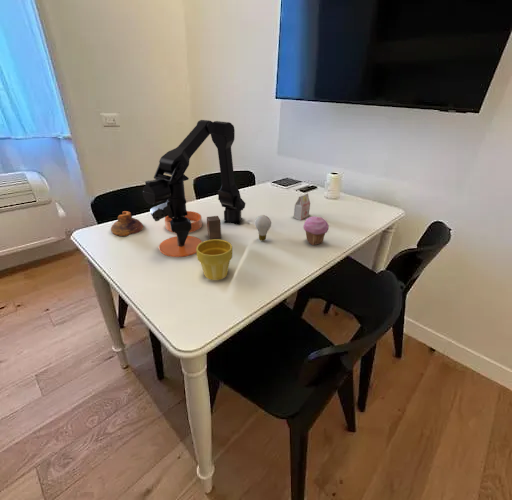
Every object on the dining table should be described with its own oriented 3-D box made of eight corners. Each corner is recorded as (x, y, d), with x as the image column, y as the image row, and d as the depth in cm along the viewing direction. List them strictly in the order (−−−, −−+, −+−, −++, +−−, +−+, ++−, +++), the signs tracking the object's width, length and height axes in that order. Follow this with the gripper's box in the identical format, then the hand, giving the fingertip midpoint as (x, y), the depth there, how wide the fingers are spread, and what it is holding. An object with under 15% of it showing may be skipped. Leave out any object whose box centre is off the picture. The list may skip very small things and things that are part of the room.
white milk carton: (293, 217, 133) (295, 196, 128) (301, 213, 137) (304, 192, 133) (300, 220, 131) (302, 198, 126) (308, 215, 135) (311, 194, 131)
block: (218, 234, 116) (217, 215, 112) (221, 239, 113) (220, 219, 109) (207, 236, 115) (206, 216, 111) (210, 241, 111) (208, 221, 108)
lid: (208, 240, 112) (207, 226, 109) (193, 260, 99) (192, 245, 96) (170, 236, 114) (168, 222, 111) (151, 255, 101) (148, 240, 99)
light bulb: (272, 238, 114) (273, 214, 110) (267, 245, 110) (268, 219, 105) (257, 236, 116) (258, 211, 111) (252, 242, 111) (252, 217, 106)
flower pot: (199, 266, 96) (197, 238, 91) (232, 265, 97) (232, 238, 92) (197, 285, 87) (194, 255, 82) (233, 284, 88) (232, 255, 83)
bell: (130, 238, 112) (126, 220, 108) (104, 233, 115) (100, 215, 112) (150, 226, 121) (147, 209, 118) (126, 222, 125) (122, 205, 121)
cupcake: (311, 249, 107) (314, 224, 102) (297, 239, 114) (299, 215, 109) (330, 244, 111) (334, 219, 106) (316, 235, 118) (319, 211, 113)
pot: (206, 221, 127) (206, 212, 125) (194, 236, 115) (193, 226, 113) (175, 218, 129) (174, 209, 127) (159, 232, 117) (158, 222, 115)
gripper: (148, 189, 103) (155, 230, 110) (151, 208, 87) (158, 255, 95) (181, 186, 106) (185, 227, 114) (189, 204, 91) (193, 250, 98)
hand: (180, 239), depth 105 cm, fingers open, 9 cm apart
